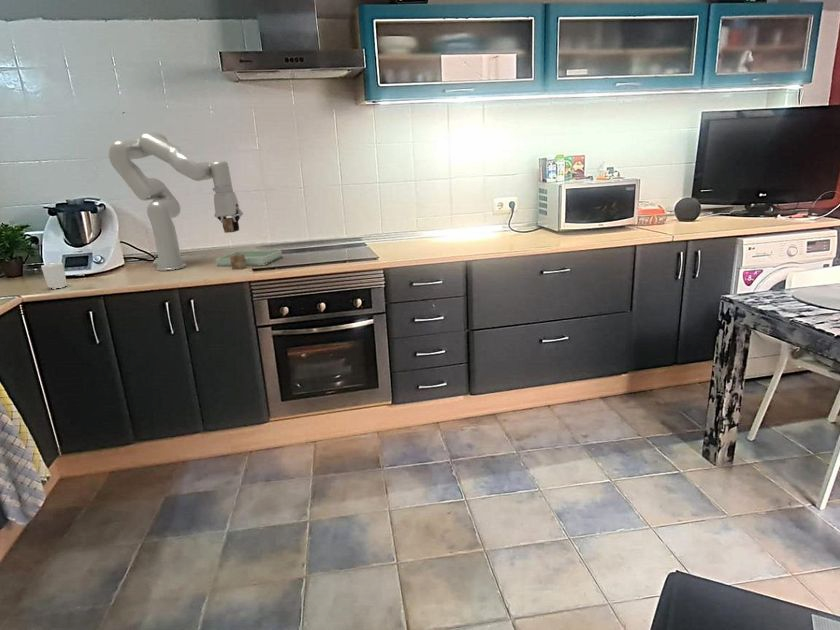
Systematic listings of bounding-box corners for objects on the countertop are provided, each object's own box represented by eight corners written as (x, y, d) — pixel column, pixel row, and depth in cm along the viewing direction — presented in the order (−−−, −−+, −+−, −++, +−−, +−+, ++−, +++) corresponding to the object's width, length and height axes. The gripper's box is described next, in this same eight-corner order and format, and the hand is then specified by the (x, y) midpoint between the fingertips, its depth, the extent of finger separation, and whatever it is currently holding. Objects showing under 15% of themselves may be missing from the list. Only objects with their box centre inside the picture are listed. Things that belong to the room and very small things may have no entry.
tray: (217, 266, 264) (215, 258, 263) (237, 258, 281) (236, 251, 280) (264, 265, 258) (262, 258, 257) (282, 257, 275) (281, 250, 274)
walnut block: (224, 232, 258) (222, 219, 256) (230, 231, 262) (227, 217, 260) (233, 232, 257) (230, 218, 255) (238, 230, 261) (236, 217, 259)
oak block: (232, 269, 255) (229, 256, 253) (237, 267, 259) (235, 254, 258) (241, 269, 254) (238, 256, 252) (246, 267, 258) (244, 254, 256)
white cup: (42, 289, 239) (36, 266, 236) (59, 285, 246) (54, 262, 243) (55, 290, 237) (49, 266, 234) (72, 285, 244) (67, 262, 241)
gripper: (202, 192, 253) (210, 233, 258) (235, 189, 248) (243, 231, 254) (212, 190, 260) (220, 230, 265) (245, 187, 255) (252, 228, 260)
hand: (231, 230), depth 259 cm, fingers closed on walnut block, 4 cm apart
